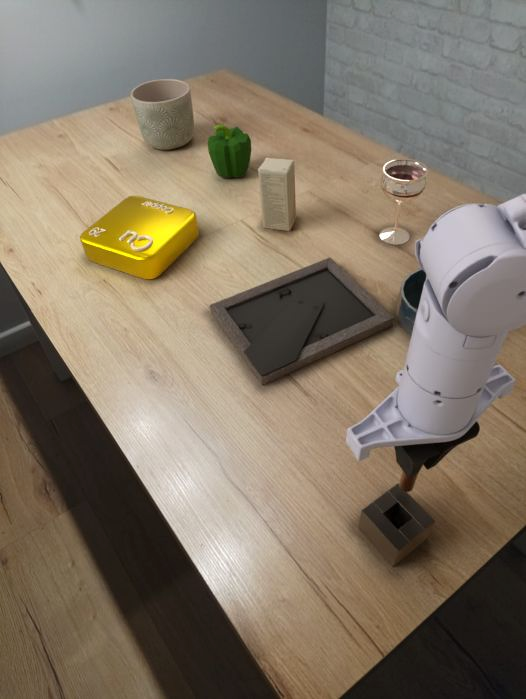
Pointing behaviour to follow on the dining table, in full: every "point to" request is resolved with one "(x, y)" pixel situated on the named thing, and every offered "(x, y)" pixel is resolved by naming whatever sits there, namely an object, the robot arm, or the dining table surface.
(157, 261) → the element tile
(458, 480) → the dining table surface
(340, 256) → the dining table surface
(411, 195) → the wineglass
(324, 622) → the dining table surface
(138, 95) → the planter
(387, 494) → the stand
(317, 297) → the picture frame
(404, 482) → the brown cylindrical rod
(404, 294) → the bowl
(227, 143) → the bell pepper
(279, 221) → the box
